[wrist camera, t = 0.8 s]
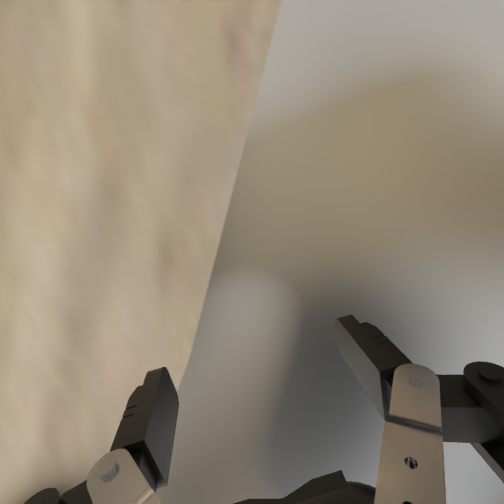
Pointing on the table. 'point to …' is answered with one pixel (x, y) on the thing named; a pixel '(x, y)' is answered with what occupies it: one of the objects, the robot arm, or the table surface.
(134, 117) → the table surface
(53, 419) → the table surface
